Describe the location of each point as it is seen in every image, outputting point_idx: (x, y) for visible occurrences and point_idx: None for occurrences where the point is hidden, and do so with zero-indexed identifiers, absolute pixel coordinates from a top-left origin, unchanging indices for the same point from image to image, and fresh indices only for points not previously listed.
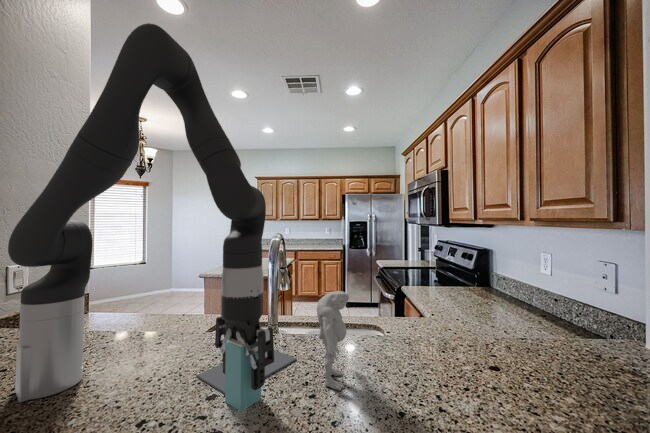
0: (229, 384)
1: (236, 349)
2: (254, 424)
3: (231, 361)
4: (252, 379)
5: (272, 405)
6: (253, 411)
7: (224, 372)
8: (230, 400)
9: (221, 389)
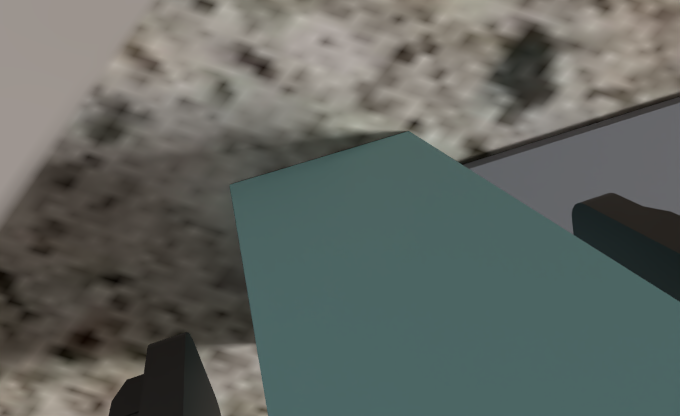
0: (404, 189)
1: None
2: (34, 222)
3: (469, 302)
4: (164, 388)
5: None
6: (179, 260)
7: (589, 202)
8: (353, 159)
9: (545, 149)
